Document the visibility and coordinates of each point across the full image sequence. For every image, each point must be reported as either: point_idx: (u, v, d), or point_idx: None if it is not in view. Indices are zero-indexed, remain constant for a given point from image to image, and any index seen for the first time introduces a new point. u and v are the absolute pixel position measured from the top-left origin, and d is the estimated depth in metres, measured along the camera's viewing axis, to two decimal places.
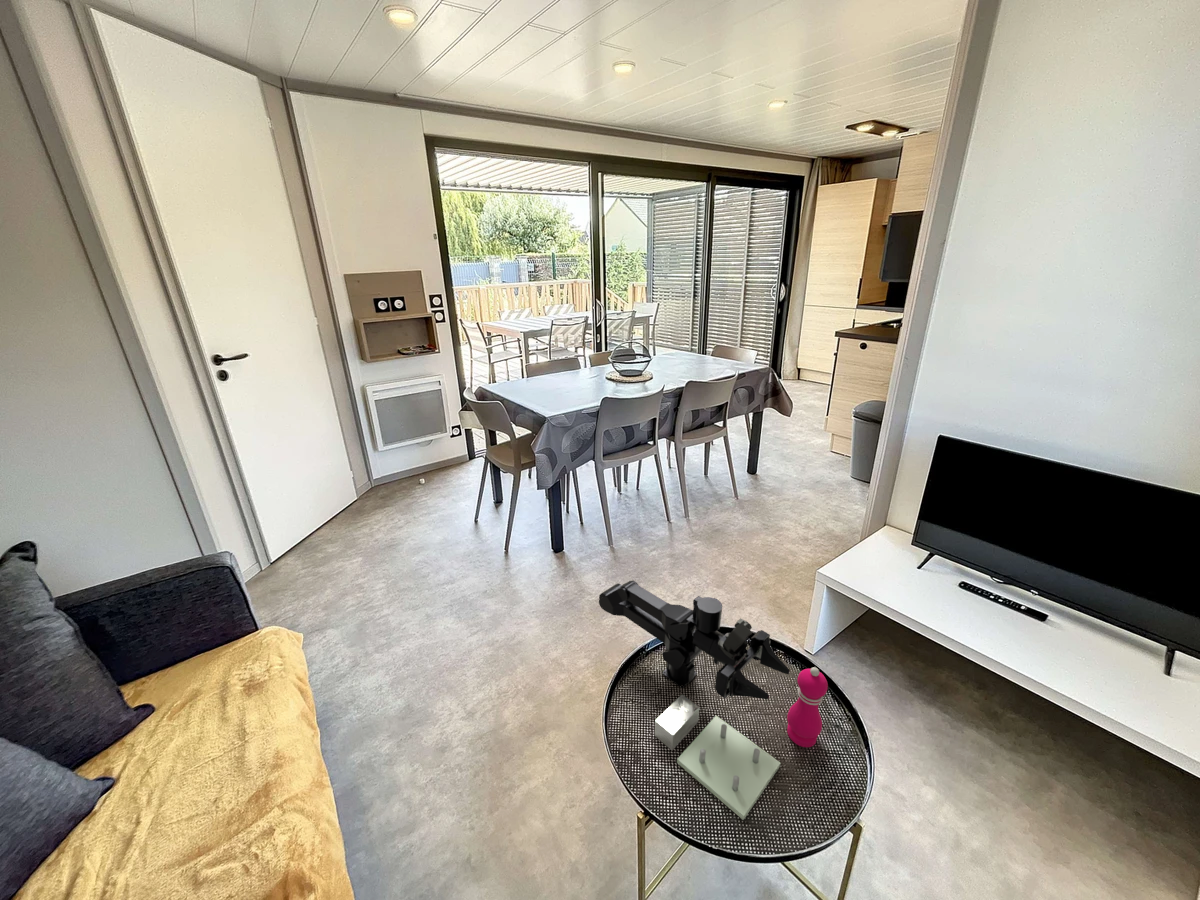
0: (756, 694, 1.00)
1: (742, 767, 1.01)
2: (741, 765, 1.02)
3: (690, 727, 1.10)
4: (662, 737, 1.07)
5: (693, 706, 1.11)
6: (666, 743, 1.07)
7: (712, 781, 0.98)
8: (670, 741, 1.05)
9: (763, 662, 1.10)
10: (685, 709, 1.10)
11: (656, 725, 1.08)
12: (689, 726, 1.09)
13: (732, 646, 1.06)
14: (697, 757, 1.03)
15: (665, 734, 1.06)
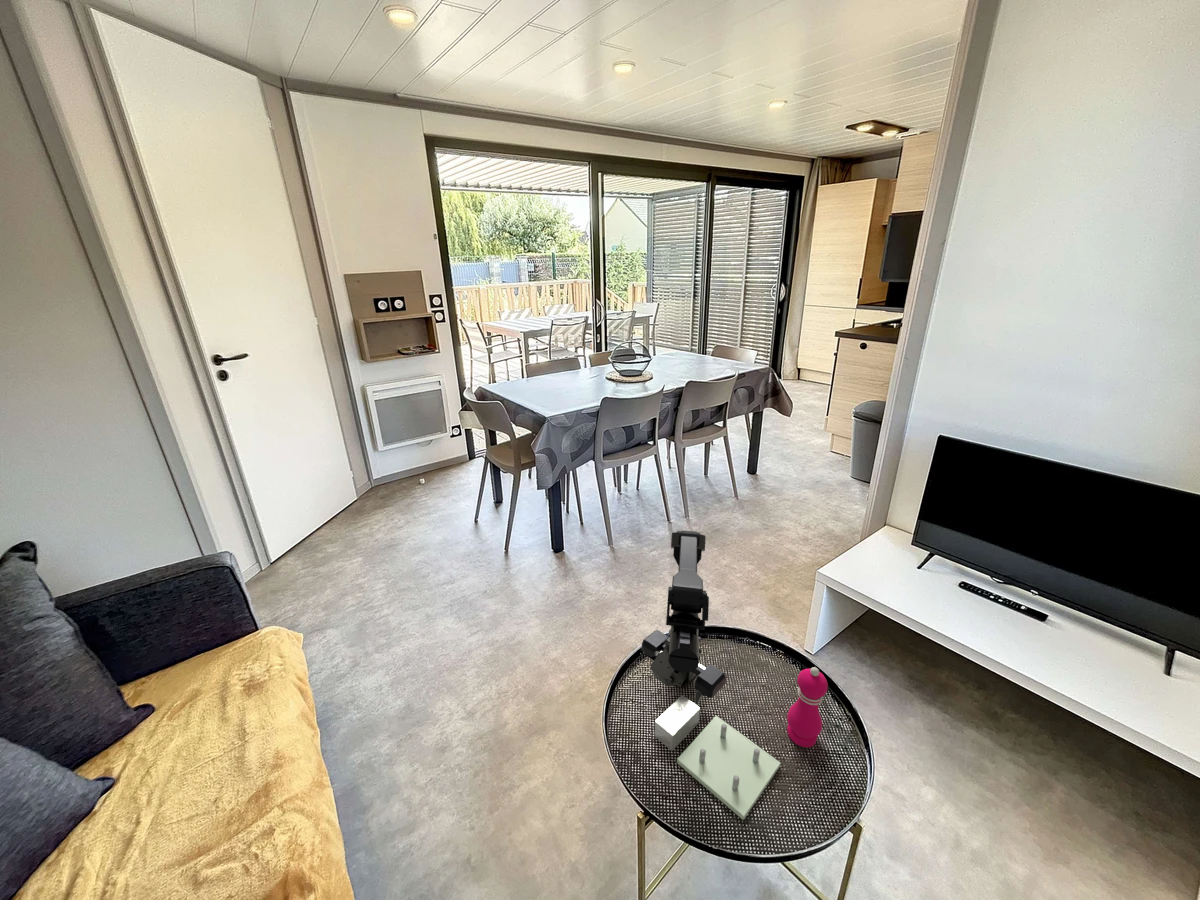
0: None
1: (742, 767, 1.01)
2: (741, 765, 1.02)
3: (690, 728, 1.10)
4: (661, 738, 1.07)
5: (693, 707, 1.11)
6: (666, 744, 1.07)
7: (712, 781, 0.98)
8: (670, 742, 1.05)
9: None
10: (685, 710, 1.10)
11: (656, 725, 1.08)
12: (689, 727, 1.09)
13: None
14: (697, 757, 1.03)
15: (665, 735, 1.06)
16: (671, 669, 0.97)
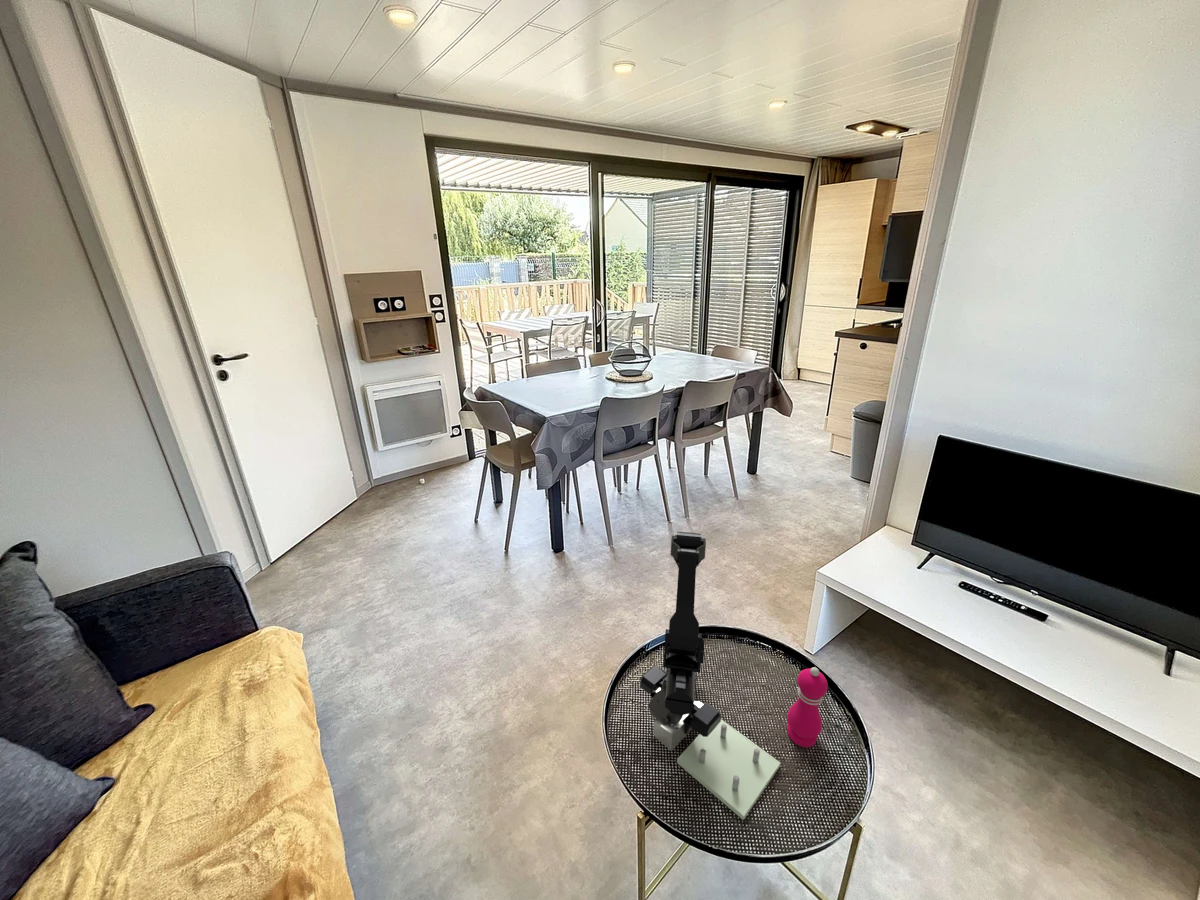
0: None
1: (742, 767, 1.01)
2: (741, 765, 1.02)
3: None
4: (661, 737, 1.07)
5: None
6: (665, 743, 1.07)
7: (712, 781, 0.98)
8: (669, 741, 1.05)
9: None
10: None
11: (655, 725, 1.08)
12: None
13: None
14: (697, 757, 1.03)
15: (664, 734, 1.06)
16: (668, 709, 1.01)
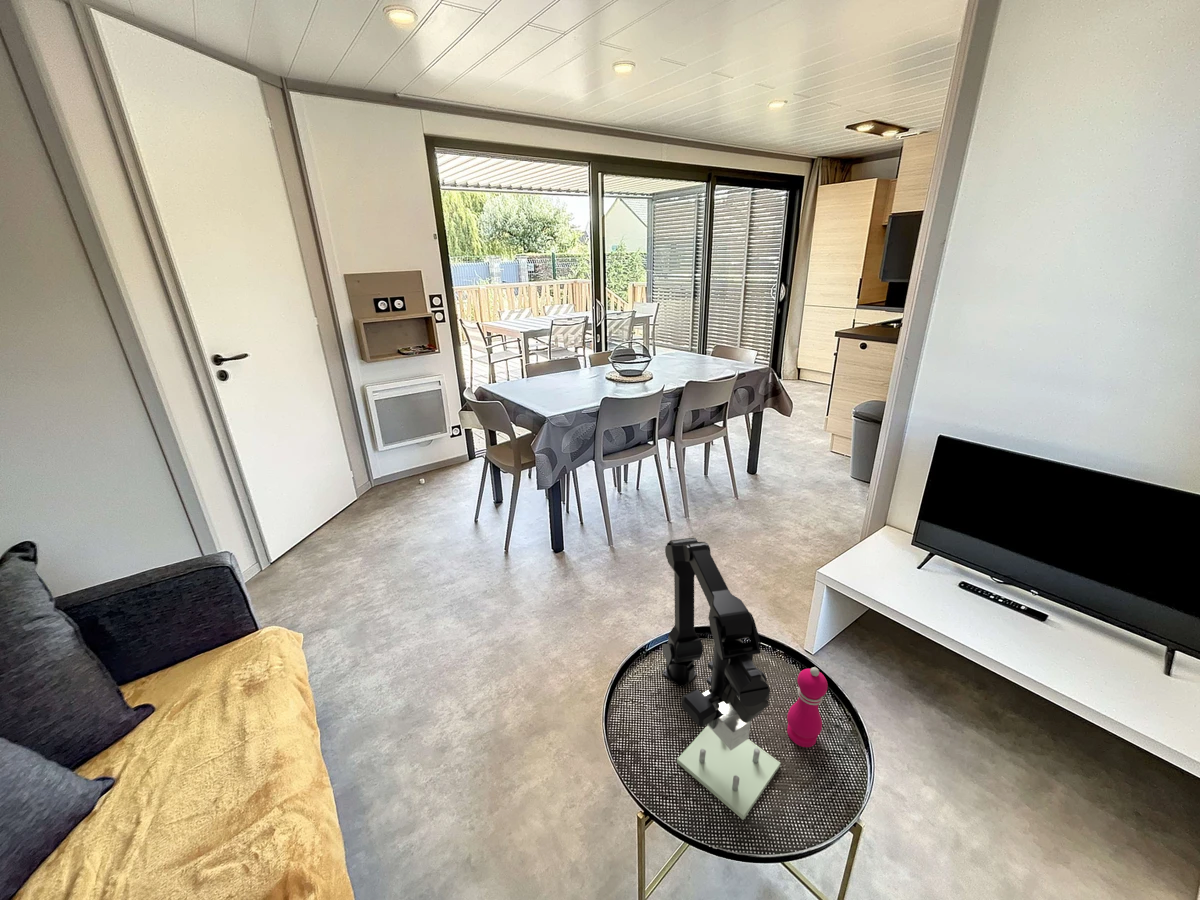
0: None
1: (742, 767, 1.01)
2: (741, 765, 1.02)
3: None
4: (739, 740, 0.95)
5: None
6: (743, 739, 0.96)
7: (712, 781, 0.98)
8: (748, 730, 0.96)
9: None
10: None
11: (734, 735, 0.94)
12: None
13: (735, 706, 0.91)
14: (697, 757, 1.03)
15: (743, 731, 0.95)
16: None
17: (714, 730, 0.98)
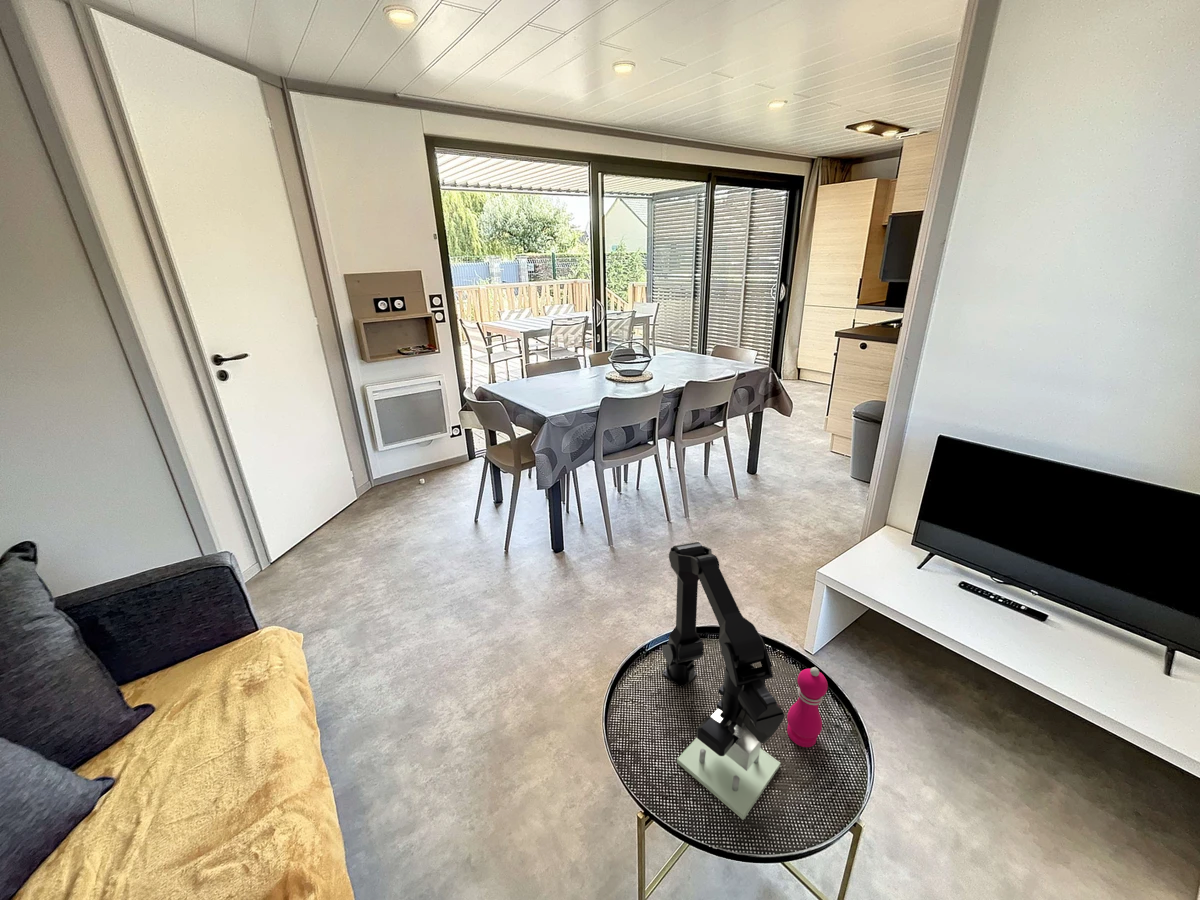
0: None
1: None
2: None
3: None
4: (752, 759, 0.96)
5: (720, 712, 1.02)
6: (755, 756, 0.97)
7: (712, 781, 0.98)
8: (759, 747, 0.98)
9: None
10: None
11: (749, 756, 0.94)
12: None
13: (751, 729, 0.92)
14: (697, 757, 1.03)
15: (756, 749, 0.96)
16: None
17: (726, 753, 0.99)
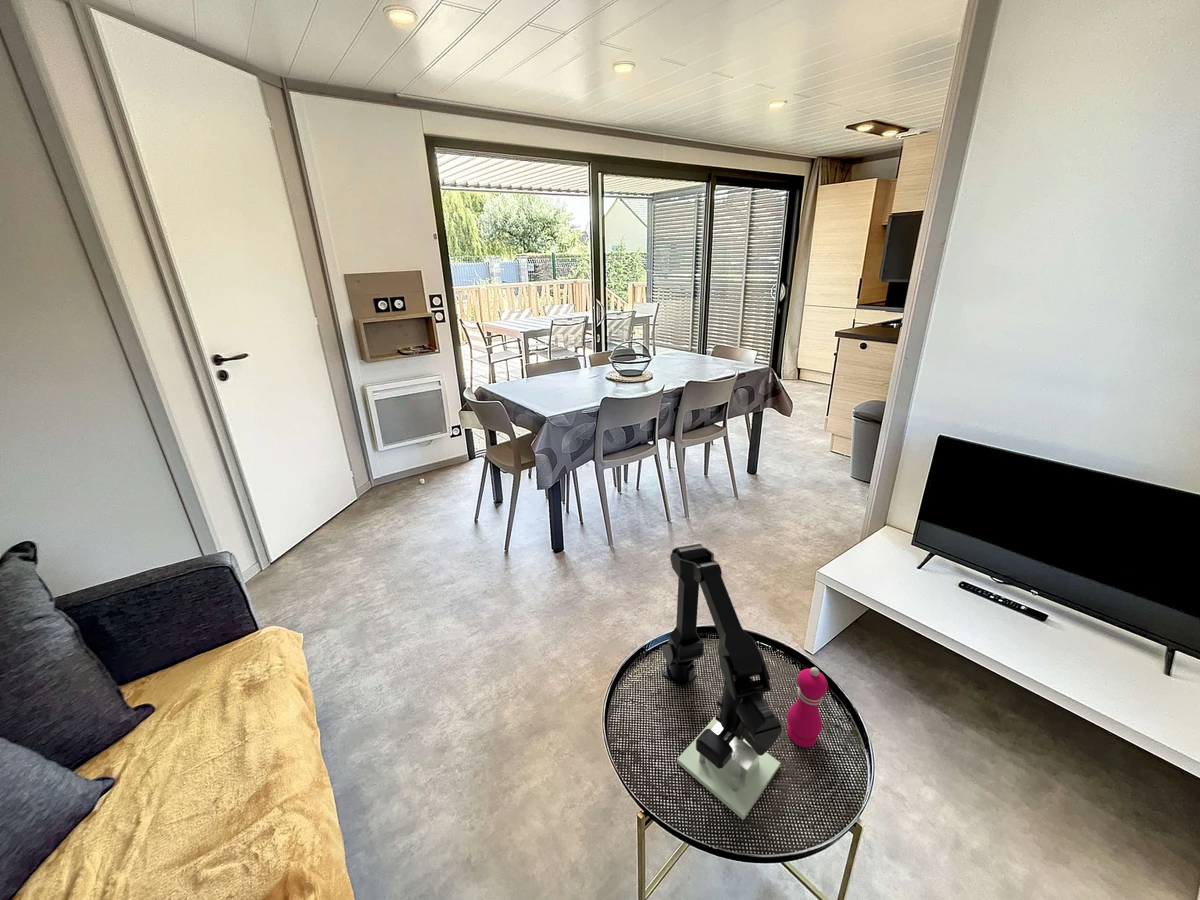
0: None
1: None
2: None
3: None
4: (750, 774, 0.98)
5: (718, 728, 1.04)
6: (753, 772, 0.99)
7: (712, 781, 0.98)
8: (757, 763, 0.99)
9: None
10: None
11: (747, 772, 0.96)
12: None
13: (749, 741, 0.93)
14: (697, 757, 1.03)
15: (753, 765, 0.98)
16: None
17: (724, 768, 1.00)
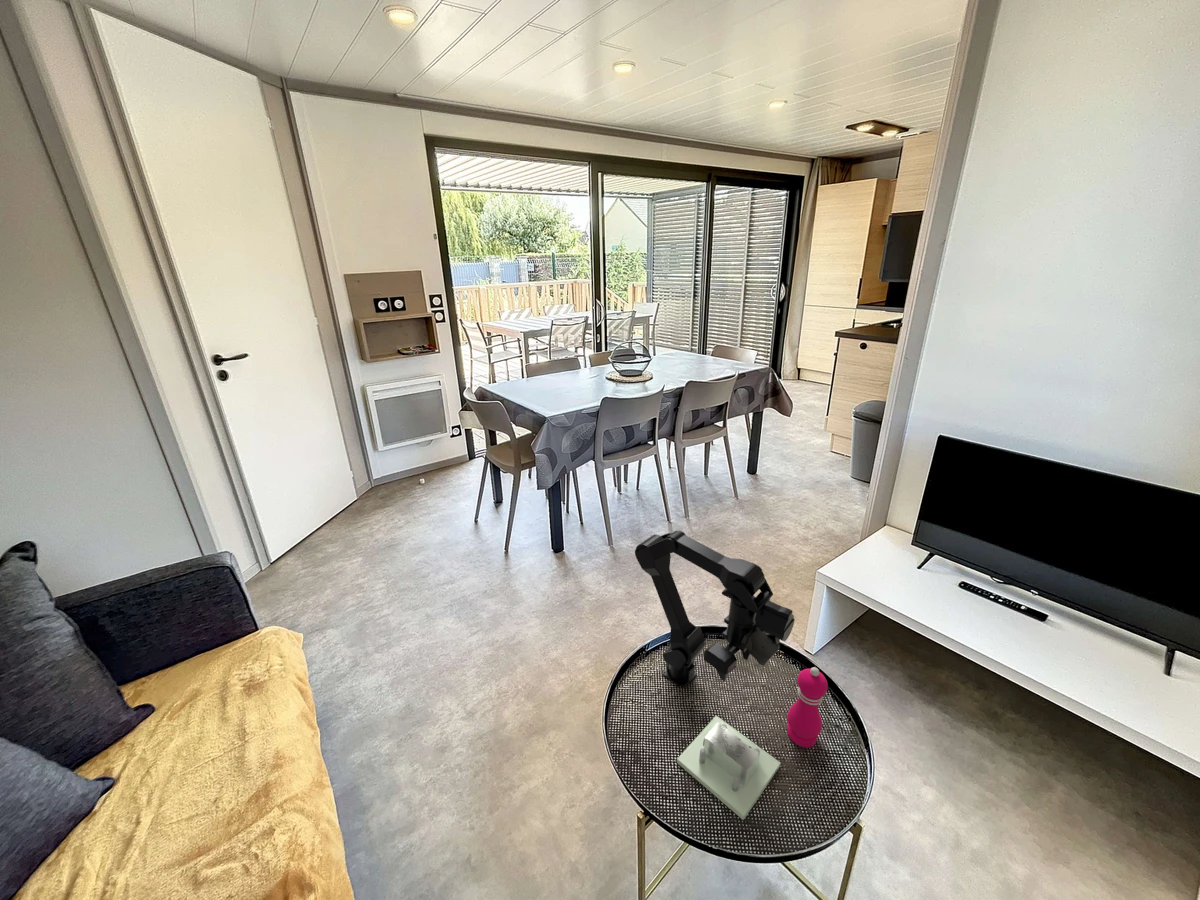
0: (720, 673, 1.08)
1: None
2: None
3: None
4: (750, 774, 0.98)
5: (718, 728, 1.04)
6: (753, 772, 0.99)
7: (712, 781, 0.98)
8: (757, 763, 0.99)
9: None
10: (724, 736, 1.02)
11: (747, 772, 0.96)
12: None
13: (752, 652, 1.03)
14: (697, 757, 1.03)
15: (753, 765, 0.98)
16: (769, 641, 1.04)
17: (724, 768, 1.00)
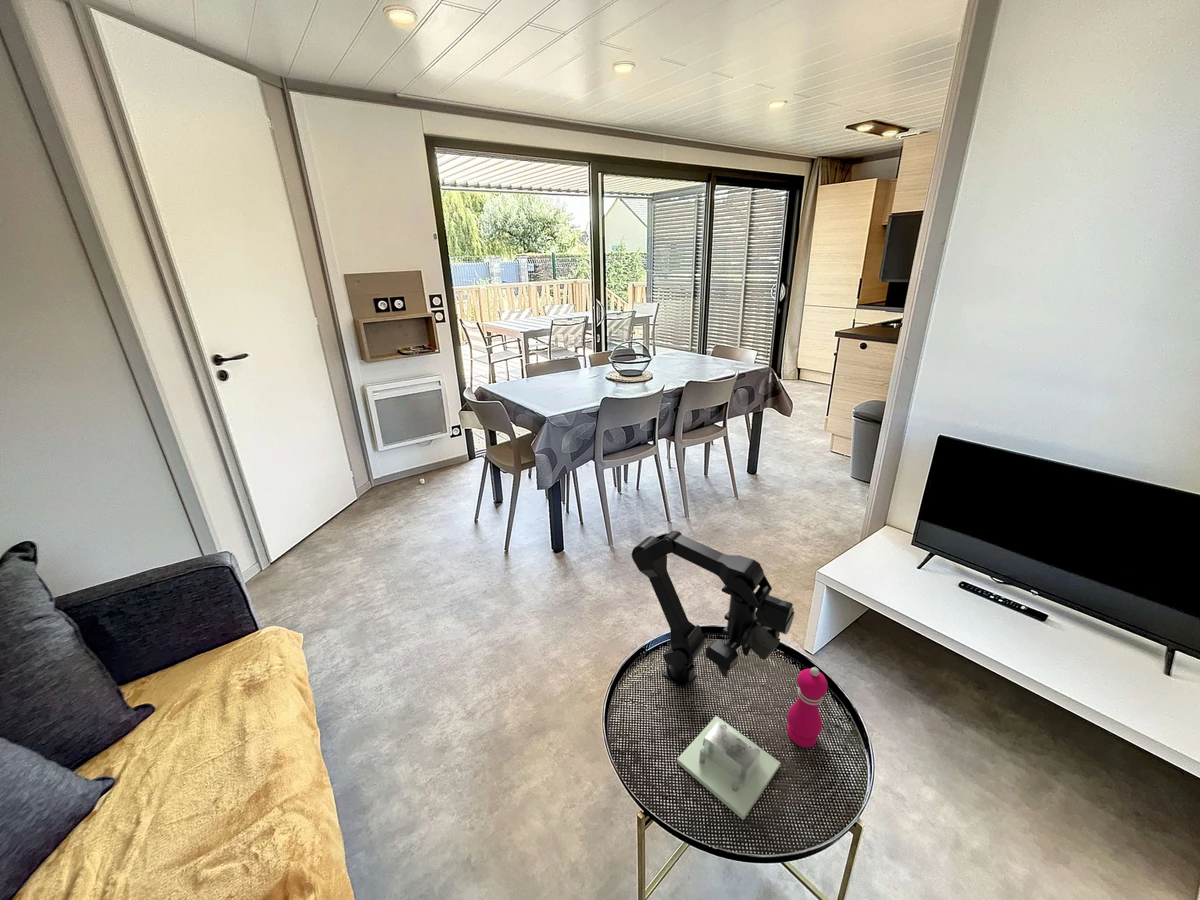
0: (722, 670, 1.09)
1: None
2: None
3: None
4: (750, 774, 0.98)
5: (718, 728, 1.04)
6: (753, 772, 0.99)
7: (712, 781, 0.98)
8: (757, 763, 0.99)
9: None
10: (724, 736, 1.02)
11: (747, 772, 0.96)
12: None
13: (753, 647, 1.04)
14: (697, 757, 1.03)
15: (753, 765, 0.98)
16: (770, 635, 1.05)
17: (724, 768, 1.00)
